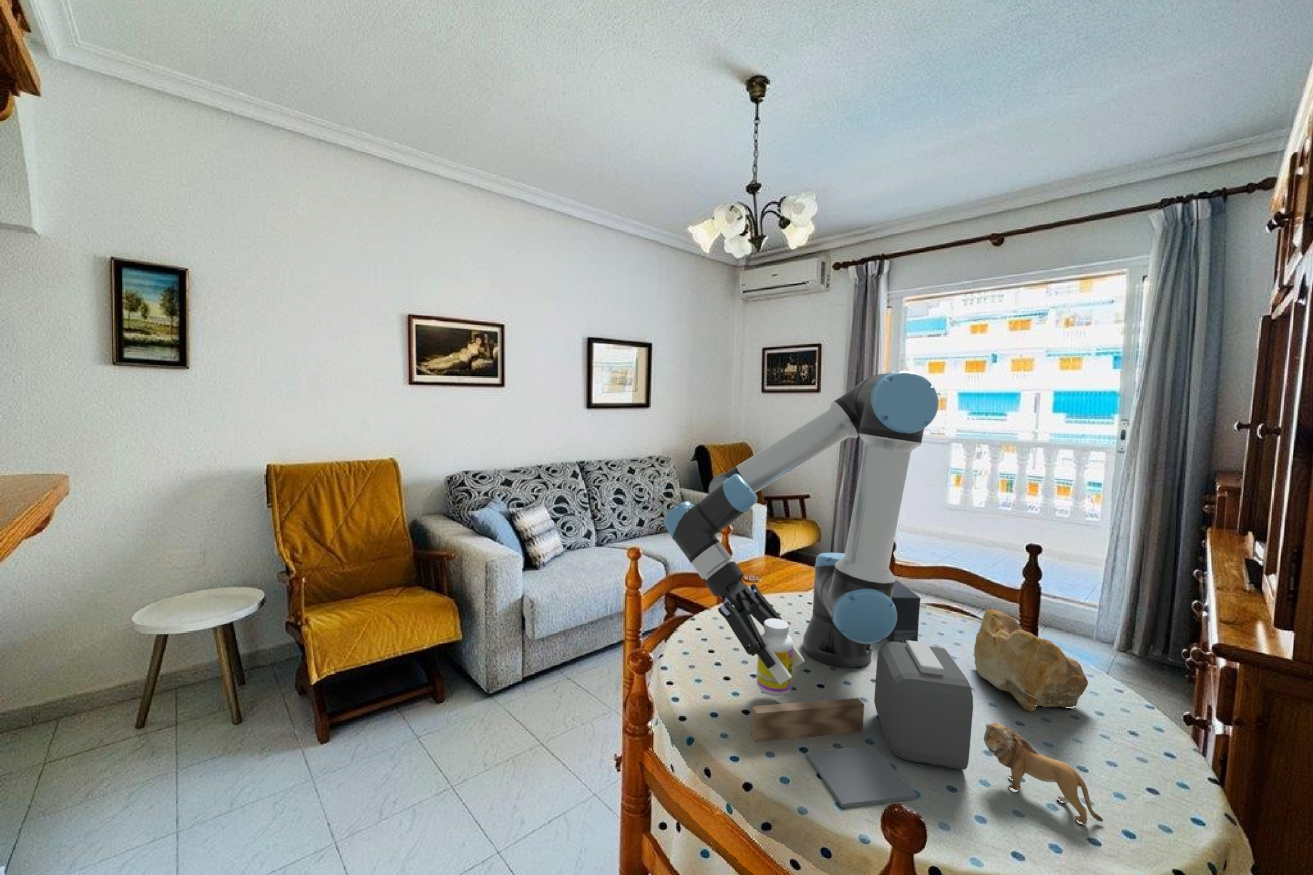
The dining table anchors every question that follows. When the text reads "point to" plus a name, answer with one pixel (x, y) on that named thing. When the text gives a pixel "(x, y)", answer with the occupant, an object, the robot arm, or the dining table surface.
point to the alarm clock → (924, 704)
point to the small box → (905, 614)
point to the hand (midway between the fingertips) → (792, 672)
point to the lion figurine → (1036, 767)
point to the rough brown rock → (1026, 664)
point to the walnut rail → (807, 719)
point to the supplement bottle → (783, 650)
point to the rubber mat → (859, 776)
